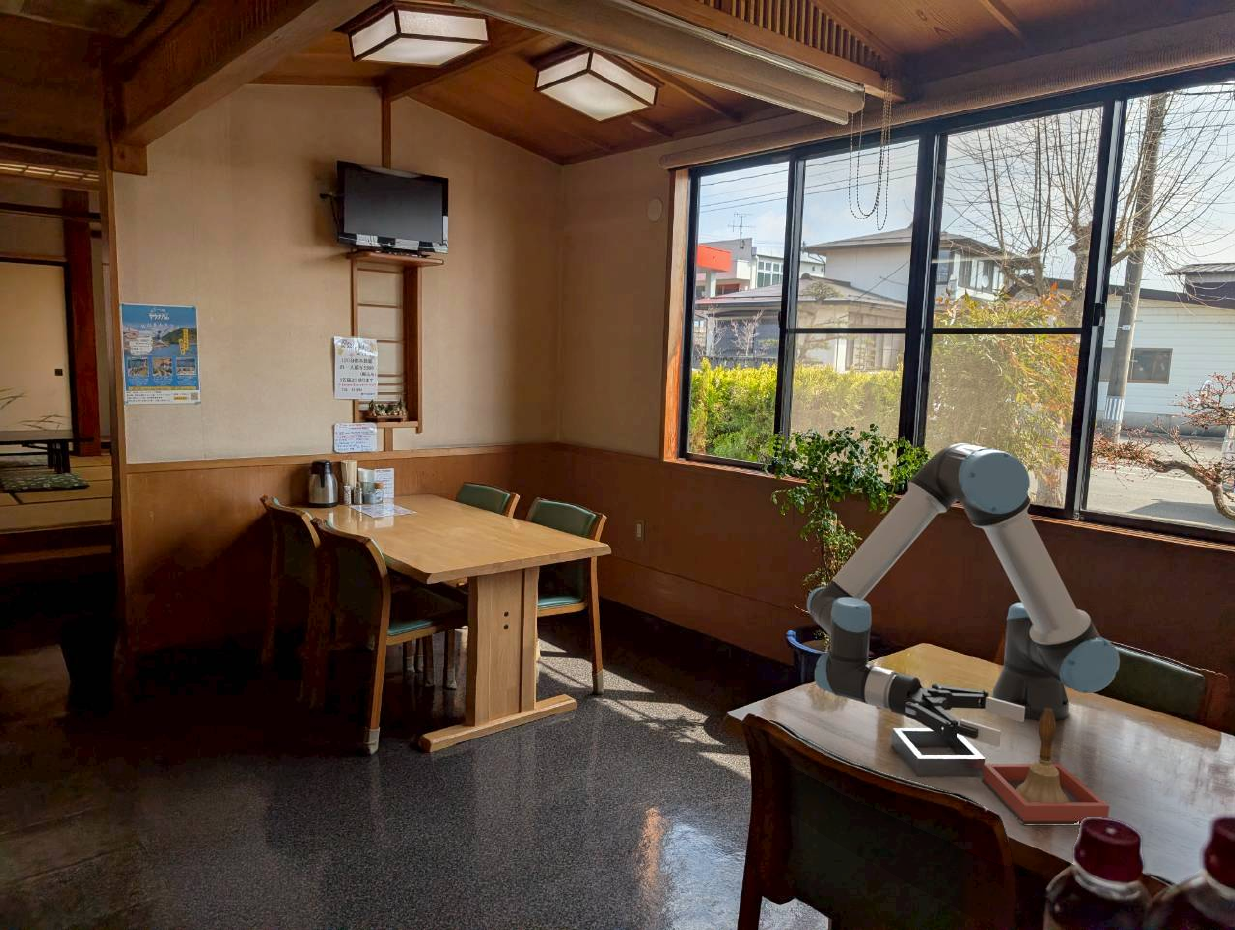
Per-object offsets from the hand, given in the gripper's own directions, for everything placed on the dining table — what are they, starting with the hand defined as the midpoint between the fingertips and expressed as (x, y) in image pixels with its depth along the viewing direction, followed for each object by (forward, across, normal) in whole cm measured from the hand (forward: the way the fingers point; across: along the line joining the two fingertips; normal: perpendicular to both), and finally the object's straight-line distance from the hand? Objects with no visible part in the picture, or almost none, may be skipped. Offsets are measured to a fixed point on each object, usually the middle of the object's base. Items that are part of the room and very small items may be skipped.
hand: (1012, 726), depth 144 cm
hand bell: (+6, 0, -11) cm, 13 cm away
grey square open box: (-13, -2, -12) cm, 18 cm away
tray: (+6, 0, -12) cm, 13 cm away
